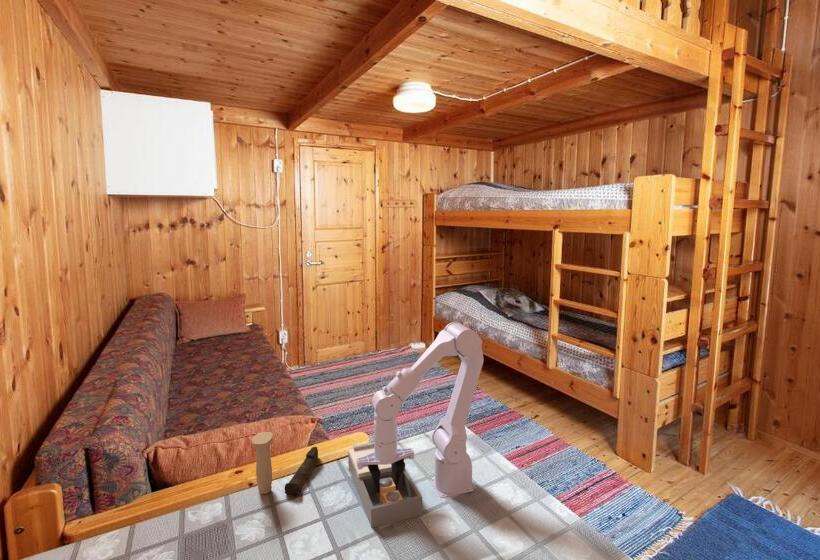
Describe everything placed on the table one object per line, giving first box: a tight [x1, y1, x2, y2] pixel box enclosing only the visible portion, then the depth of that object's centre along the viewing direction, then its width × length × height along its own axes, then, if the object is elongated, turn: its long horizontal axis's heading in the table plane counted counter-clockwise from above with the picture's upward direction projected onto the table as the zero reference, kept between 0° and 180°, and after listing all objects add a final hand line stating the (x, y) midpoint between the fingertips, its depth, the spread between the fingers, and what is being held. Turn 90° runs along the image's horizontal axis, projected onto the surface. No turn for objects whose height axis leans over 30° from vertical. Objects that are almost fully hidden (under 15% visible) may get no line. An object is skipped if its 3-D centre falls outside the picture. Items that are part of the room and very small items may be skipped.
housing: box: [347, 452, 423, 529], centre depth 112 cm, size 13×26×5 cm, turn 20°
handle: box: [251, 431, 274, 495], centre depth 111 cm, size 5×6×15 cm
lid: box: [348, 441, 392, 478], centre depth 117 cm, size 13×13×2 cm
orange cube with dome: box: [383, 490, 403, 504], centre depth 103 cm, size 4×4×4 cm
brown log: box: [284, 446, 319, 498], centre depth 119 cm, size 19×4×5 cm, turn 170°
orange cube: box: [376, 477, 396, 504], centre depth 109 cm, size 4×4×4 cm
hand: (386, 488), depth 109 cm, fingers closed on orange cube, 4 cm apart
